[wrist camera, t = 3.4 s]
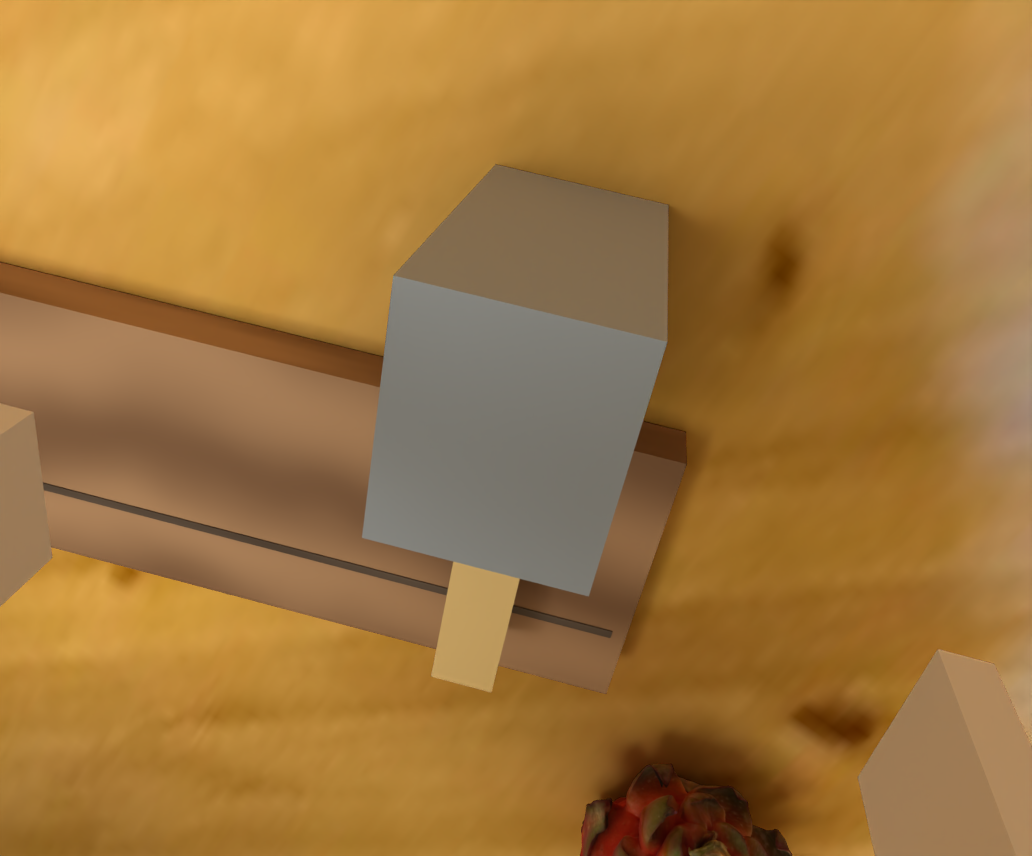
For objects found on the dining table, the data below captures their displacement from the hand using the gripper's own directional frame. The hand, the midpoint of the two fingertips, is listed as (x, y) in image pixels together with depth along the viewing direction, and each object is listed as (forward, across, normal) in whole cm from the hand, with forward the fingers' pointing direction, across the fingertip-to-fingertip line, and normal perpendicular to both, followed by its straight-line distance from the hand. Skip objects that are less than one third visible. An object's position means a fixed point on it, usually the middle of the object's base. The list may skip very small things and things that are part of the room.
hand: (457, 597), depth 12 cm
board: (+14, +8, +9) cm, 19 cm away
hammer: (+15, 0, +5) cm, 15 cm away
